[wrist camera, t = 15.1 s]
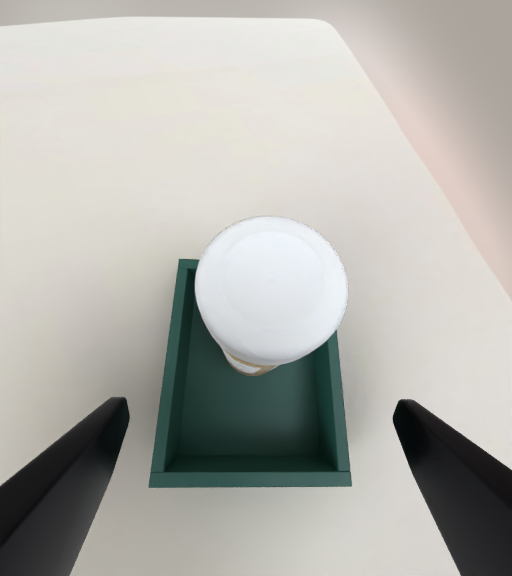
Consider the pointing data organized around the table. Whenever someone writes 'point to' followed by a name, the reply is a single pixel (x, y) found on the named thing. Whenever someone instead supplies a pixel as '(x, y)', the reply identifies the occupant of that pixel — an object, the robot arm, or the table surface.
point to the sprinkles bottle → (270, 292)
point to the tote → (245, 412)
